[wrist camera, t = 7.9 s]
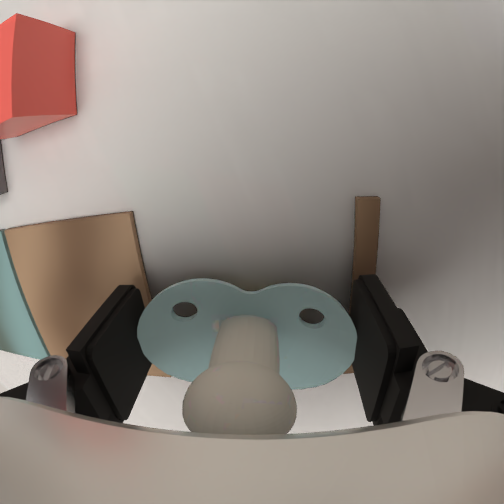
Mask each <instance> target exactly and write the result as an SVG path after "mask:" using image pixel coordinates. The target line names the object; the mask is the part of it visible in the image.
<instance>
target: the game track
mask: <svg viewBox="0 0 504 504" xmlns="http://www.w3.org/2000/svg"><path fill="white" fill-rule="evenodd" d="M379 219H380V198H379V197H378V196H370V197H355V234H354V256H353V272H352V286H351V298H350V309H349V315H350V311H351V301H352V289H353V281H354V280H356V279H358V277H359V275H369V274H375V273H376V262H377V250H378V237H379ZM119 285H134V286H135V287H136V288H138V289H139V290H140V292H141V295H142V299H143V303H144V307H145V308H146V307H147V305H148V304H149V303H150V302H151V301H152V299H151V295H150V291H149V287H148V283H147V279H146V275H145V270H144V266H143V261H142V257H141V252H140V247H139V242H138V237H137V232H136V227H135V222H134V216H133V211H130V212H121V213H113V214H104V215H96V216H89V217H81V218H74V219H66V220H59V221H53V222H46V223H39V224H33V225H27V226H21V227H15V228H9V229H7V230H5V229H3V230H0V350H3V351H7V352H10V353H14V354H19V355H23V356H27V357H31V358H36V359H43V358H45V357H48V356H52V355H59V356H62V357H64V358H65V359H66V358H67V357H68V353H67V351H66V349H67V347H68V346H69V345H70V343H71V342H72V341H73V340H74V338H75V337H76V336H77V335H78V333H79V332H80V331H81V330H82V328H83V327H84V326H85V325H86V323H87V322H88V321H89V320H90V319H91V317H92V316H93V315H94V314H95V312H96V311H97V310H98V309H99V308H100V306H101V305H102V304H103V303H104V302H105V300H106V299H107V298H108V297H109V296H110V295H111V293H112V292H113V291H114V290H115V289H116V288H117V286H119ZM347 373H354V371H353V367H352V364H351V366H350V367H349V368H348V369H347V370H346V371H345V372H344V373H343V374H347ZM147 375H150V376H162V377H171V375H168V374H166V373H164V372H163V371H162V370H160V369H158V368H157V367H156V366H155V365H154V364H152V365H151V367H150V369H149V372H148V374H147Z"/></svg>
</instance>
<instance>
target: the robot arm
mask: <svg viewBox="0 0 504 504" xmlns="http://www.w3.org/2000/svg"><path fill="white" fill-rule="evenodd" d="M144 309H145V307H144V303H143V299H142V295H141V292H140V290H139V289H138V288H136V287H135V286H134V285H119V286H117V288H116V289H115V290H114V291H113V292H112V293H111V295H110V296H109V297H108V298H107V299H106V300H105V302H104V303H103V304H102V305H101V306H100V308H99V309H98V310H97V311H96V312H95V314H94V315H93V316H92V317H91V319H90V320H89V321H88V322H87V323H86V325H85V326H84V327H83V328H82V330H81V331H80V332H79V333H78V335H77V336H76V337H75V338H74V340H73V341H72V342H71V343H70V345H69V346H68V347H67V349H66V351H67V353H68V357H67V358H66V359H65V358H64V357H62V356H59V355H52V356H48V357H45V358H43V359H41V360H39V361H38V362H37V363H36V364H35V365H34V366H33V368H32V369H31V372H30V377H29V382H28V383H26V384H23V385H21V386H18V387H16V388H13V389H11V390H8V391H6V392H3V393H1V394H0V504H504V393H503V392H500V391H497V390H495V389H492V388H489V387H487V386H484V385H481V384H479V383H476V382H473V381H471V380H468V379H465V378H464V368H463V365H462V363H461V361H460V360H459V359H458V358H457V357H456V356H454V355H452V354H450V353H447V352H444V351H430V352H428V351H427V350H426V348H425V346H424V345H423V343H422V341H421V339H420V338H419V336H418V334H417V333H416V331H415V330H414V328H413V326H412V325H411V323H410V321H409V320H408V318H407V317H406V315H405V313H404V312H403V310H402V309H400V308H397V307H396V305H395V304H394V302H393V300H392V299H391V297H390V296H389V294H388V292H387V291H386V289H385V288H384V286H383V285H382V283H381V282H380V280H379V279H378V277H377V276H376V274H369V275H359V277H358V279H356V280H354V281H353V289H352V301H351V311H350V317H351V320H352V322H353V324H354V326H355V329H356V333H357V342H356V349H355V357H354V361H353V362H352V367H353V371H354V374H355V378H356V381H357V385H358V388H359V392H360V396H361V399H362V403H363V407H364V411H365V414H366V418H367V421H368V422H371V421H373V425H374V426H368V427H360V428H352V429H344V430H335V431H325V432H314V433H299V434H273V435H236V434H211V433H196V432H184V431H174V430H165V429H157V428H150V427H143V426H136V425H130V424H124V423H123V421H124V420H127V419H128V417H129V415H130V413H131V410H132V408H133V406H134V403H135V401H136V399H137V396H138V394H139V392H140V390H141V387H142V385H143V383H144V381H145V378H146V376H147V374H148V372H149V369H150V367H151V365H152V363H151V362H150V361H149V360H148V359H147V357H146V356H145V355H144V354H143V351H142V348H141V346H140V343H139V340H138V338H137V327H138V323H139V319H140V317H141V315H142V313H143V311H144Z"/></svg>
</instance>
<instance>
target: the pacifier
mask: <svg viewBox="0 0 504 504" xmlns="http://www.w3.org/2000/svg"><path fill="white" fill-rule="evenodd" d="M181 302H189V303H192V304H194V305H195V306H196V307H197V313H196V314H194V315H193V316H190V317H180V316H178V315H176V314H175V313H174V311H173V307H174V306H175V305H176V304H178V303H181ZM307 308H312V309H316V310H318V311H320V312H321V313H322V314H323V315H324V319H323V320H322V321H321V322H320V323H318V324H310V323H307V322H305V321H303V320H302V319H301V318H300V316H299V314H300V312H301V311H302V310H304V309H307ZM137 338H138V340H139V343H140V346H141V348H142V351H143V354H144V355H145V356H146V357H147V359H148V360H149V361H150V362H151V363H152V364H154V365H155V366H156V367H157V368H158V369H160V370H162V371H163V372H164V373H166V374H168V375H171V376H174V377H176V378H178V379H181V380H185V381H189V382H192V383H191V385H190V386H189V388H188V390H187V391H186V394H185V397H184V400H183V418H184V422H185V424H186V425H187V427H188V429H189V430H190V431H191V432H196V433H211V434H236V435H273V434H287V433H288V432H289V431H290V430H291V428H292V426H293V425H294V423H295V419H296V413H297V407H296V401H295V397H294V394H293V392H292V389H305V388H312V387H317V386H320V385H324V384H327V383H329V382H330V381H332V380H334V379H336V378H337V377H338V376H340V375H341V374H343V373H344V372H345V371H346V370H347V369H348V368H349V367H350V366H351V364H352V362H353V361H354V357H355V349H356V342H357V333H356V329H355V326H354V324H353V322H352V320H351V317H350V315H349V313H348V312H347V311H346V309H345V308H344V307H343V306H342V305H341V303H340V302H339V301H337V300H336V299H335V298H334V297H332V296H331V295H330V294H328V293H326V292H324V291H322V290H320V289H318V288H316V287H313V286H310V285H305V284H299V283H281V284H276V285H271V286H268V287H265V288H263V289H261V290H258V291H245V290H242V289H240V288H239V287H237V286H235V285H233V284H230V283H227V282H224V281H221V280H215V279H208V278H198V279H189V280H185V281H182V282H178V283H176V284H173V285H171V286H169V287H167V288H166V289H164V290H163V291H161V292H160V293H158V294H157V295H156V296H155V297H154V298H153V300H152V301H151V302H150V303H149V304H148V305H147V307H146V308H145V309H144V311H143V313H142V315H141V317H140V319H139V323H138V327H137Z"/></svg>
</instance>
